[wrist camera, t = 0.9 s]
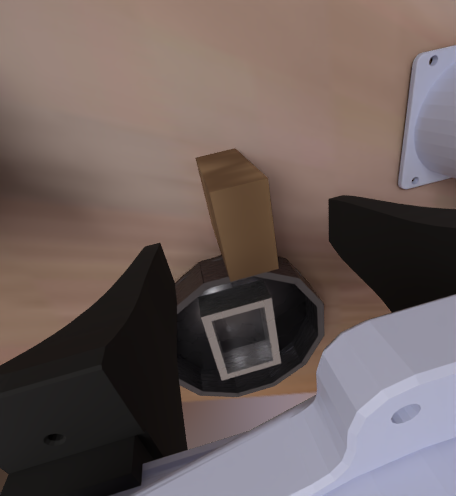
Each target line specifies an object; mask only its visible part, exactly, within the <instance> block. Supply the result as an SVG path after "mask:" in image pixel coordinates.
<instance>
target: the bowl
mask: <svg viewBox="0 0 456 496" xmlns="http://www.w3.org/2000/svg"><path fill="white" fill-rule="evenodd" d="M277 258H278V266H279V269H276V270H272V271H269V272H265V273H261V274H258V275H254V276H250V277H246V278H243V279H239V280H235V281H232V282H230V279H229V276H228V273H227V270H226V267H225V263H224V260H223V257H222V255H221V256H218V257H215V258H212V259H208V260H204V261H201V262H199V263H198V264H196V265H195V266H194V267H193V268H192V269H191V270H189V271H188V272H187V273H186V274H184V275H183V276H182V277H181V278H180V279H179V280H178V281H177V282H176V283H175V289H176V297H177V365H178V375H179V385H180V386H182V387H184V388H186V389H188V390H190V391H192V392H194V393H196V394H198V395H201V396H225V397H237V396H238V397H239V396H243V395H246V394H249V393H253V392H256V391H259V390H263V389H266V388H270V387H273V386H275V385H277V384H278V383H280V382H281V381H283V380H284V379H285V378H287V377H288V376H290V375H291V374H293V373H294V372H296V371H297V370H298V369H300V368H301V367H303V366H304V365H306V363H307V362H308V360H309V359H310V357H311V355H312V354H313V352H314V351H315V349H316V347H317V346H318V344H319V343H320V341H321V340H322V338H323V336H324V304H323V302H322V301H321V299H320V298H319V297H318V295H317V294H316V292H315V291H314V290H313V288H312V287H311V286H310V284H309V283H308V282H307V281H306V280H305V278H304V277H303V276H302V275H301V274H300V273H299V271H298V270H297V269H296V268H294V267H293V266H292V265H291V264H290V263H289V262H288V260H287V259H285V258H281V257H277Z"/></svg>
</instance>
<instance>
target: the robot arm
mask: <svg viewBox="0 0 456 496" xmlns="http://www.w3.org/2000/svg"><path fill="white" fill-rule="evenodd" d="M431 57H432V63H431V64H430V65H429V61H430V58H431ZM413 178H414V181H413V182H412V180H413ZM448 178H456V45H454V46H449V47H445V48H440V49H436V50H432V51H427V52H423V53H420V54H418V55H417V56H416V58H415V59H414V61H413V65H412V73H411V81H410V89H409V98H408V106H407V114H406V122H405V131H404V139H403V147H402V155H401V163H400V172H399V180H398V186H399V187H400V188H402V189H410V188H414V187H417V186H421V185H425V184H429V183H433V182H437V181H441V180H444V179H448ZM329 242H330V243H331V245H332V246H333V248H334V249H335V250H336V252H337V253H338V254H339V256H340V257H341V258H342V259H343V260H344V261H345V262H346V263H347V264H348V265H349V267H350V268H351V269H352V270H353V271H354V272H355V273H356V274H357V275H358V276H359V277H360V278H361V279H362V280H363V281H364V282H365V283H366V284H367V285H368V286H369V287H370V288H371V289H372V290H373V291H374V292H375V293H376V294H377V295H378V296H379V297H380V298H381V299H382V300H383V302H384V303H385V304H386V305H387V307H388V308H389V309H390V310H391V312H392V313H390V314H386V315H383V316H379V317H376V318H372V319H369V320H366V321H363V322H361V323H359V324H357V325H355V326H353V327H351V328H349V329H347V330H345V331H343V332H341V333H340V334H339V335H338V336H337V337H336V338H335V339H334V340H333V341H332V342H331V343H330V344H329V345H328V346H327V347H326V348H325V349H324V351H323V353H322V356H321V359H320V362H319V365H318V368H317V372H316V376H317V394H316V395H315V396H313V397H311V398H309V399H308V400H306V401H304V402H302V403H300V404H298V405H296V406H294V407H293V408H291V409H289V410H287V411H285V412H283V413H282V414H280V415H278V416H276V417H274V418H272V419H270V420H268V421H266V422H265V423H263V424H261V425H259V426H257V427H256V428H253V429H252V430H250V431H247V432H244V433H241V434H237V435H234V436H231V437H228V438H224V439H221V440H218V441H215V442H211V443H208V444H205V445H202V446H199V447H195V448H192V449H189V450H188V449H187V442H186V435H185V427H184V419H183V412H182V403H181V394H180V385H179V375H178V365H177V297H176V289H175V282H174V280H173V277H172V274H171V271H170V269H169V266H168V263H167V260H166V257H165V255H164V252H163V249H162V246H161V244H160V243H157V244H153V245H149V246H146V247H144V248H143V250H142V251H141V252H140V253H139V255H138V256H137V257H136V259H135V260H134V261H133V262H132V264H131V265H130V266H129V268H128V269H127V270H126V271H125V273H124V274H123V275H122V276H121V277H120V278H119V279H118V280H117V282H116V283H115V284H114V285H113V286H112V287H111V288H110V289H109V290H108V291H107V292H106V293H105V294H104V295H103V296H102V297H101V298H100V299H99V300H98V301H97V302H96V303H94V304H93V305H92V306H91V307H90V308H89V309H87V310H86V311H85V312H84V313H82V314H81V315H80V316H78V317H77V318H76V319H75V320H73V321H72V322H71V323H69V324H68V325H67V326H65V327H64V328H62V329H61V330H59V331H58V332H56V333H55V334H53V335H52V336H50V337H49V338H47V339H46V340H44V341H42V342H41V343H39V344H38V345H36V346H34V347H33V348H31V349H29V350H27V351H26V352H24V353H22V354H20V355H18V356H17V357H15V358H13V359H11V360H10V361H8V362H6V363H4V364H2V365H0V468H1V469H2V470H4V471H5V472H6V473H8V474H9V475H8V477H7V480H6V482H5V485H4V487H3V490H2V492H0V496H456V209H441V208H428V207H419V206H412V205H404V204H398V203H391V202H386V201H380V200H374V199H368V198H363V197H356V196H345V195H342V196H338V197H334V198H331V199H329Z"/></svg>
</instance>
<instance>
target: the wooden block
mask: <svg viewBox="0 0 456 496" xmlns="http://www.w3.org/2000/svg"><path fill="white" fill-rule="evenodd" d="M196 161H197V166H198V170H199V174H200V178H201V182H202V186H203V190H204V194H205V198H206V202H207V206H208V210H209V215H210V219H211V223H212V226H213V230H214V233H215V236H216V239H217V242H218V245H219V248H220V251H221V254H222V257H223V260H224V263H225V267H226V270H227V273H228V276H229V279H230V282H232V281H235V280H239V279H243V278H246V277H250V276H254V275H258V274H261V273H265V272H269V271H272V270H276V269H279V266H278V258H277V249H276V241H275V233H274V225H273V216H272V208H271V200H270V191H269V183H268V178H267V177H266V176H265V175H264V174H263V173H262V172H261V171H259V170H258V169H257V168H256V167H255V166H254V165H253V164H252V163H251V162H249V161H248V160H247V159H246V158H245V157H244V156H243V155H242V154H241V153H240V152H238V151H237V150H236V149H230V150H226V151H222V152H218V153H214V154H210V155H205V156H201V157H197V158H196Z"/></svg>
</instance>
